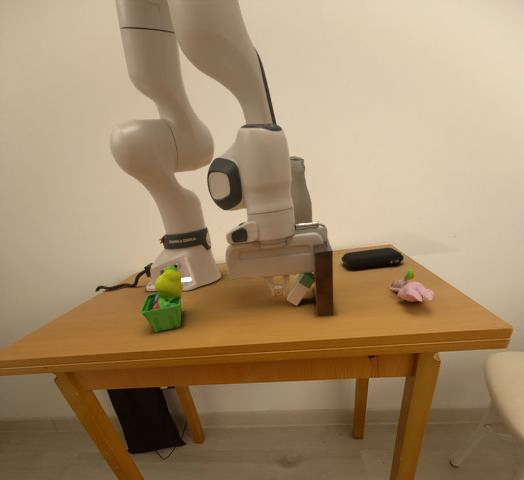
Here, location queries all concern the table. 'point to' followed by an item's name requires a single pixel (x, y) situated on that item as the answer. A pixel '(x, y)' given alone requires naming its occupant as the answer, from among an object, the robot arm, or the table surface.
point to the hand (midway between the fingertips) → (279, 295)
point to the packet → (300, 288)
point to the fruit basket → (165, 301)
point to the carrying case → (372, 258)
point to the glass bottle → (300, 192)
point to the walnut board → (323, 278)
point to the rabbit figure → (411, 289)
